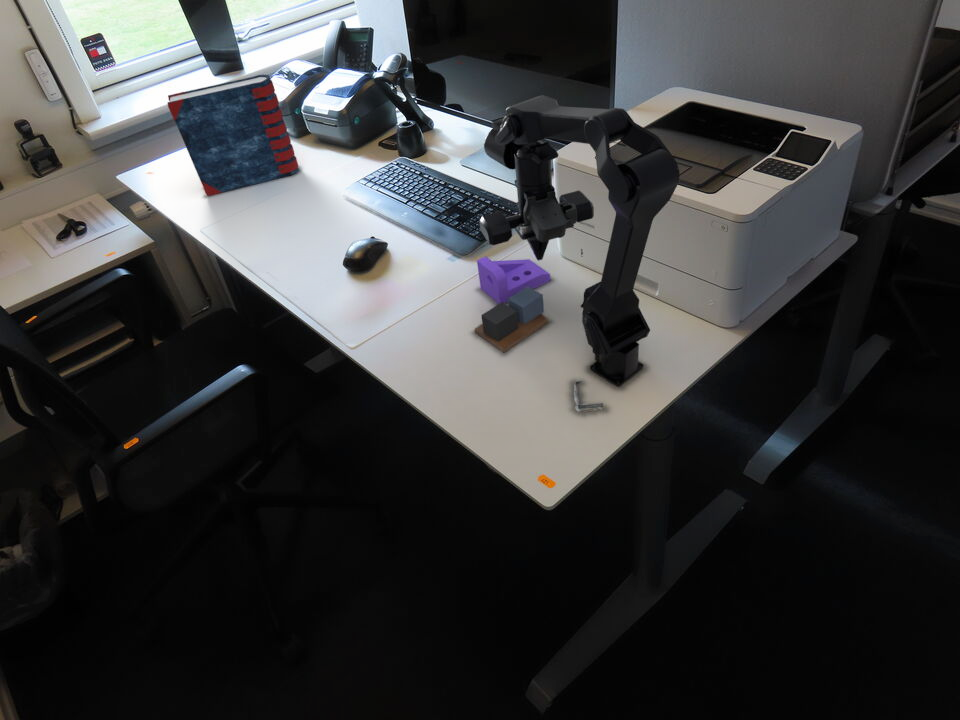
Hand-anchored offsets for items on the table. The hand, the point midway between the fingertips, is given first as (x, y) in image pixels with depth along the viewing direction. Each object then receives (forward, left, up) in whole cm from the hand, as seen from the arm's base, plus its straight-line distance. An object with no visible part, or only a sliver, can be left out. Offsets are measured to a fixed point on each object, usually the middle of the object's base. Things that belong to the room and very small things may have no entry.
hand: (539, 259), depth 118 cm
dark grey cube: (0, +10, -10) cm, 14 cm away
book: (+98, +12, -11) cm, 99 cm away
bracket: (+9, -2, -11) cm, 15 cm away
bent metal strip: (-22, +12, -11) cm, 28 cm away
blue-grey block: (0, +4, -10) cm, 11 cm away
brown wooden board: (0, +8, -11) cm, 13 cm away
